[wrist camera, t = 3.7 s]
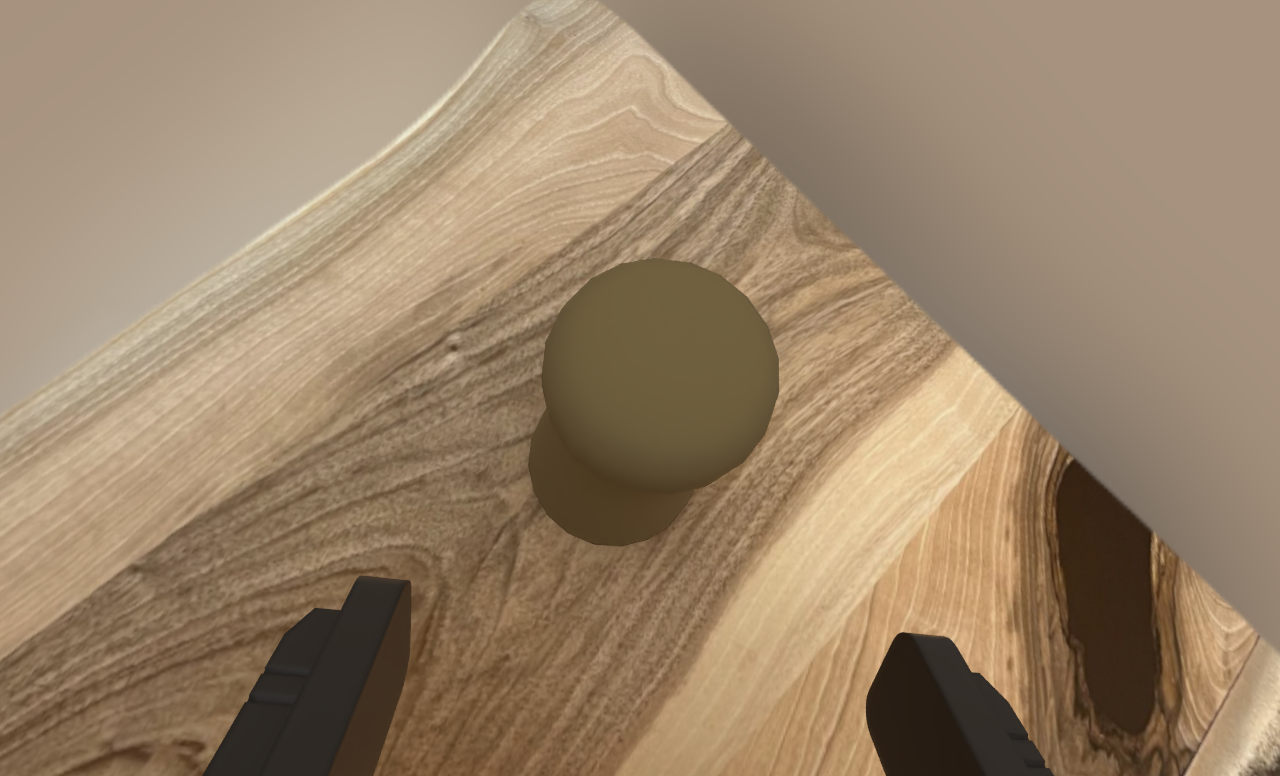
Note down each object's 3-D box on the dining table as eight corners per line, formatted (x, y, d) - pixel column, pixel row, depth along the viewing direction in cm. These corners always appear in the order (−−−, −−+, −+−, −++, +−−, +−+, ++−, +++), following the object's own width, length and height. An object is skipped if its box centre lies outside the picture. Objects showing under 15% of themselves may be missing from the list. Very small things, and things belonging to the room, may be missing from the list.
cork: (679, 564, 22) (802, 536, 12) (507, 523, 22) (478, 456, 11) (710, 402, 24) (838, 255, 14) (553, 361, 24) (564, 180, 13)
